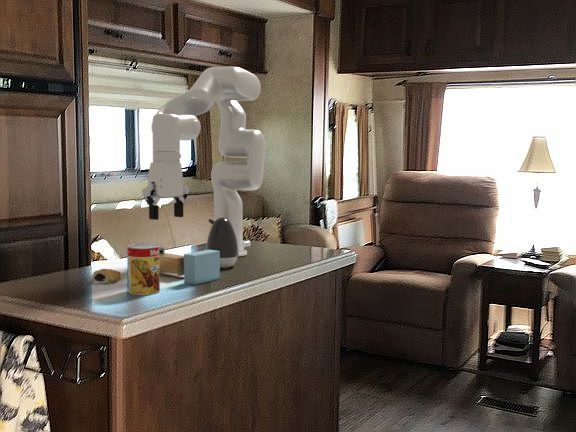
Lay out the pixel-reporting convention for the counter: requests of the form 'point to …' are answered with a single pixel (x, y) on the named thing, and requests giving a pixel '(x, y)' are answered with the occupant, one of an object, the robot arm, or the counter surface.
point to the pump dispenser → (223, 241)
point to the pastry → (105, 276)
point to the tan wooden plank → (171, 263)
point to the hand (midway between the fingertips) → (166, 218)
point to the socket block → (201, 267)
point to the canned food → (143, 269)
